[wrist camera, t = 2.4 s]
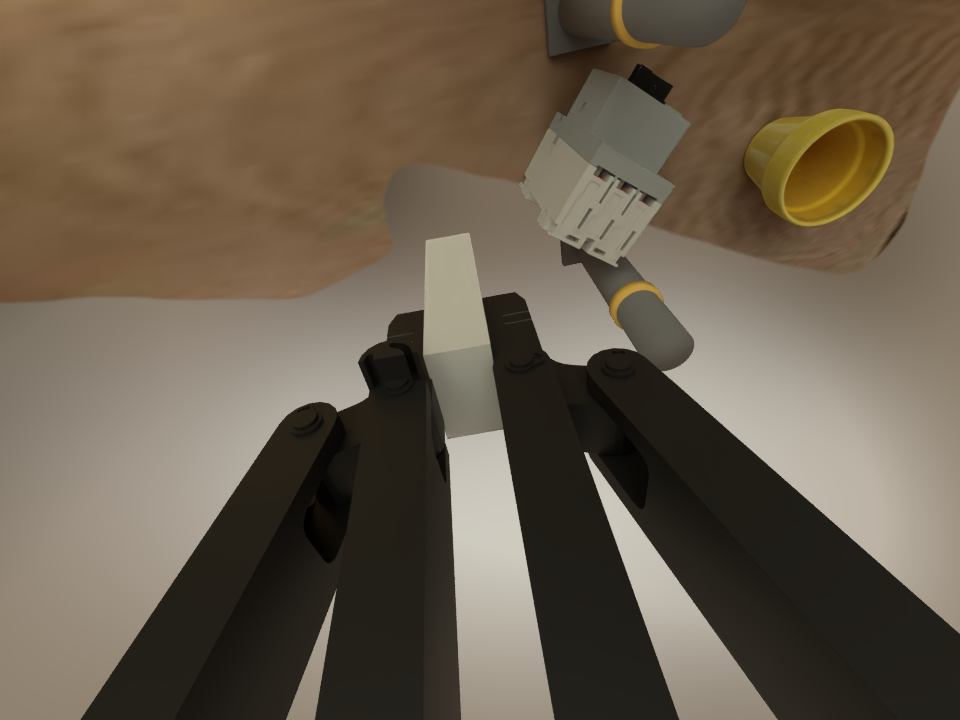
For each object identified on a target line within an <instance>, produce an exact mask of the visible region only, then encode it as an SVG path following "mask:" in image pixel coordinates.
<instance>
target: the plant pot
mask: <svg viewBox="0 0 960 720" xmlns="http://www.w3.org/2000/svg"><path fill="white" fill-rule="evenodd" d="M893 150H894V135H893V131H892V129H891V127H890V125H889V124H888V123H887V122H886V121H885V120H884V119H883V118H881V117H879V116H877V115H874V114H871V113H867V112H862V111H857V110H851V109H832V110H828V111H825V112H822V113H819V114H817V115H815V116H803V117H786V118H781V119H777V120H775V121H773V122H771V123H769V124H767V125H766V126H765V127H763V128H762V129H761V130H760V131H759V132H758V133H757V134H756V135H755V136H754V138H753V139H752V141H751V142H750V144H749V146H748V148H747V150H746V153H745V157H744V167H745V171H746V173H747V175H748V176H749V177H750V178H751V179H752V181H753V182H754V183H755V184H756V185H757V186H758V187H759V189H760V190H761V191H762V195H763V199H764V201H765V203H766V205H767V206H768V207H769V208H770V209H771V210H772V211H773V212H774V213H776V214H777V215H779V216H780V217H782V218H783V219H785V220H787V221H788V222H790V223H792V224H795V225H798V226H803V227H812V226H818V225H823V224H826V223H829V222H831V221H834V220H836V219H838V218H840V217H842V216H844V215H845V214H847V213H848V212H850V211H851V210H853V209H854V208H855V207H857V206H858V205H859V204H860V203H861V202H862V201H864V200H865V199H866V198H867V197H868V196H869V195H870V193H871V192H872V191H873V190H874V189H875V187H876V186H877V185H878V184H879V182H880V181H881V179H882V177H883V176H884V174H885V172H886V170H887V168H888V166H889V164H890V161H891V158H892V155H893Z"/></svg>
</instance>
